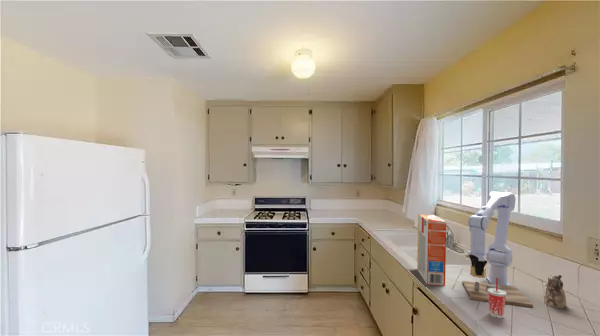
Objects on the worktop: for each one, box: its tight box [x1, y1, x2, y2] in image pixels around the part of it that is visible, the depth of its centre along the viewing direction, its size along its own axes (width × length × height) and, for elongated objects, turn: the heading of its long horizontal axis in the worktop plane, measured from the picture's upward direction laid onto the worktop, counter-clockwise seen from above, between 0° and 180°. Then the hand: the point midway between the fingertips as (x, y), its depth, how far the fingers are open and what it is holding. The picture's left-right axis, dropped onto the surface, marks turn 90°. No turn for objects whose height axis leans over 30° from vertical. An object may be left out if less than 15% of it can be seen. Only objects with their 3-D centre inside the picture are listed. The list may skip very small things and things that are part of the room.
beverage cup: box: [487, 278, 506, 319], centre depth 117 cm, size 6×6×14 cm
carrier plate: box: [461, 280, 534, 308], centre depth 138 cm, size 20×22×5 cm
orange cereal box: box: [416, 213, 447, 287], centre depth 159 cm, size 23×8×30 cm, turn 170°
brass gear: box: [469, 264, 487, 279], centre depth 140 cm, size 6×6×4 cm
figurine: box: [543, 274, 567, 309], centre depth 128 cm, size 7×7×12 cm
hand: (477, 273), depth 140 cm, fingers closed on brass gear, 6 cm apart
